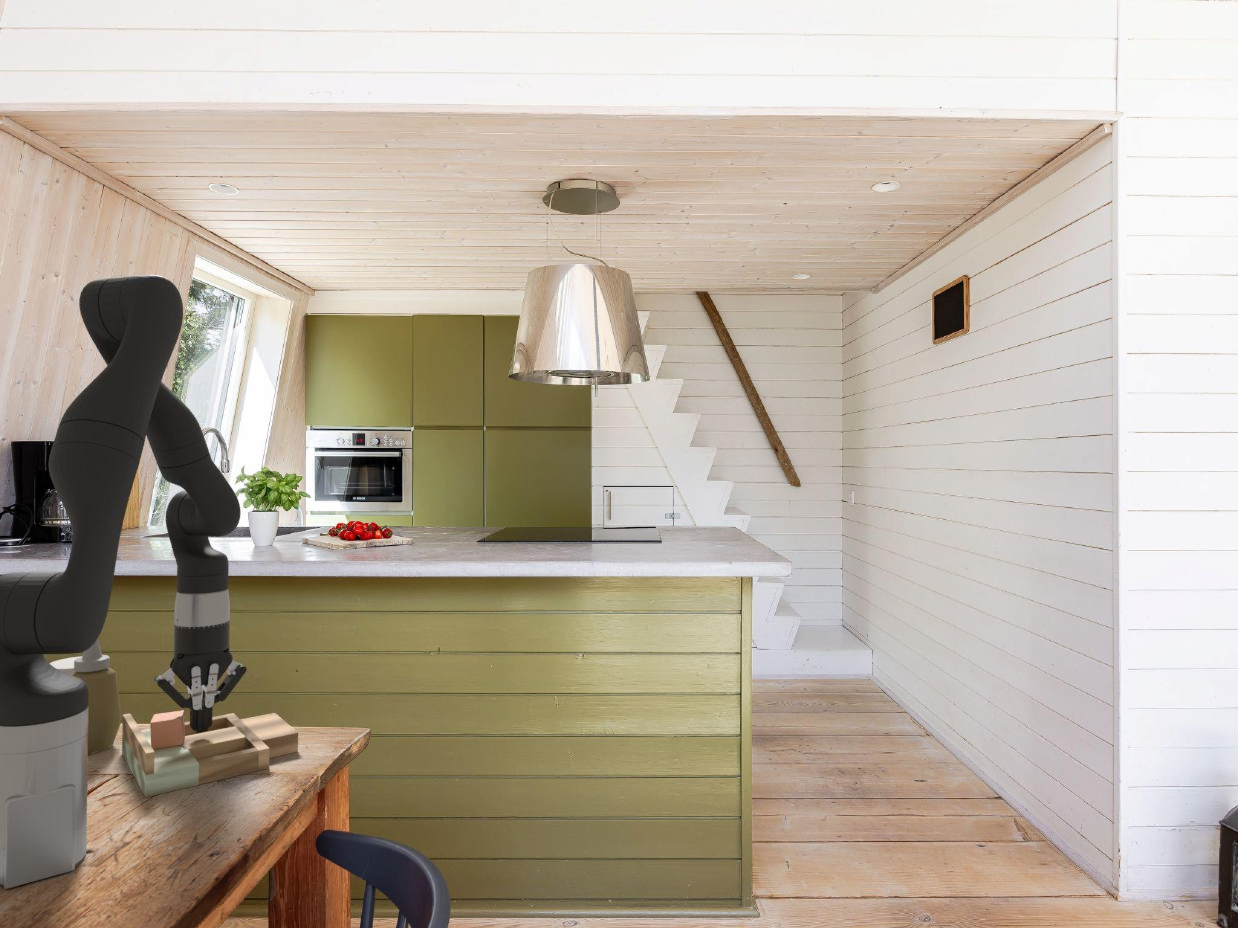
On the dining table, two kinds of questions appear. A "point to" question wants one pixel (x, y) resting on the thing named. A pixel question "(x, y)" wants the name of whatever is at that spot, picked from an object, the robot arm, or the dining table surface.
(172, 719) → the block
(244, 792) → the dining table surface
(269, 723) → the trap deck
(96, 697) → the squeeze bottle
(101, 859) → the dining table surface
